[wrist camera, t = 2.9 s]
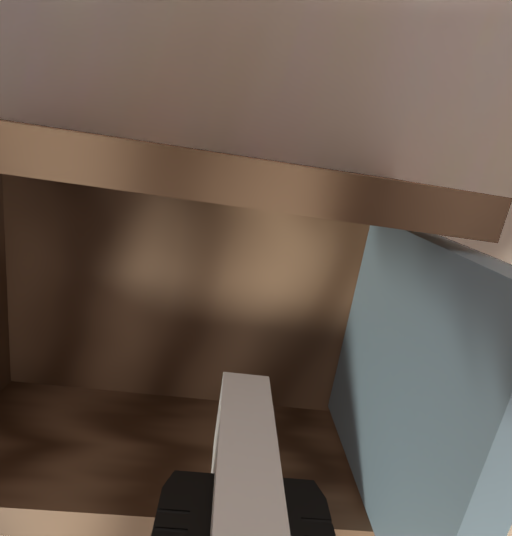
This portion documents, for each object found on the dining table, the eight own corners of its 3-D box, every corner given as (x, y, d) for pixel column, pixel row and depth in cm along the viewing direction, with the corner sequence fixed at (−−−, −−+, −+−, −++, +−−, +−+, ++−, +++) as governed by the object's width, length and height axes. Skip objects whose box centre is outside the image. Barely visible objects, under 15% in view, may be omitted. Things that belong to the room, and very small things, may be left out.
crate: (0, 385, 24) (-144, 527, 15) (-14, 117, 20) (-231, 86, 10) (337, 416, 26) (392, 558, 17) (395, 179, 21) (512, 198, 12)
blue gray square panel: (328, 405, 24) (414, 644, 12) (372, 215, 20) (549, 296, 9) (363, 409, 24) (481, 647, 12) (413, 221, 20) (639, 307, 9)
